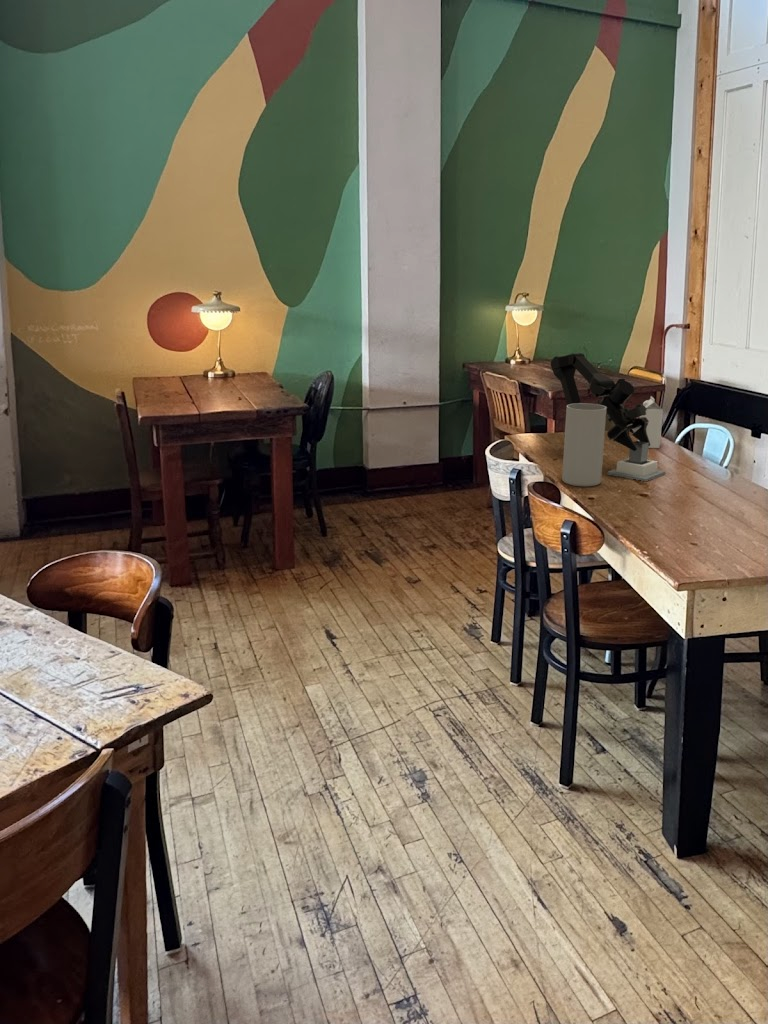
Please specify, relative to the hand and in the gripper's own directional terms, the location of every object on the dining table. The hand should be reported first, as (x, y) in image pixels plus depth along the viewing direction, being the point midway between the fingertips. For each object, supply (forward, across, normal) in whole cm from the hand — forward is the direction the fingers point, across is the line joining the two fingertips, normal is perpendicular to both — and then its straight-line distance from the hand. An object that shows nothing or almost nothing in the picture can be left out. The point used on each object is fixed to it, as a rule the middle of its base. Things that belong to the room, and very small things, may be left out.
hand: (642, 448), depth 296 cm
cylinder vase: (0, -22, +13) cm, 26 cm away
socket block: (+6, 0, +8) cm, 9 cm away
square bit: (+5, 0, +7) cm, 8 cm away
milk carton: (-7, +43, +21) cm, 48 cm away
